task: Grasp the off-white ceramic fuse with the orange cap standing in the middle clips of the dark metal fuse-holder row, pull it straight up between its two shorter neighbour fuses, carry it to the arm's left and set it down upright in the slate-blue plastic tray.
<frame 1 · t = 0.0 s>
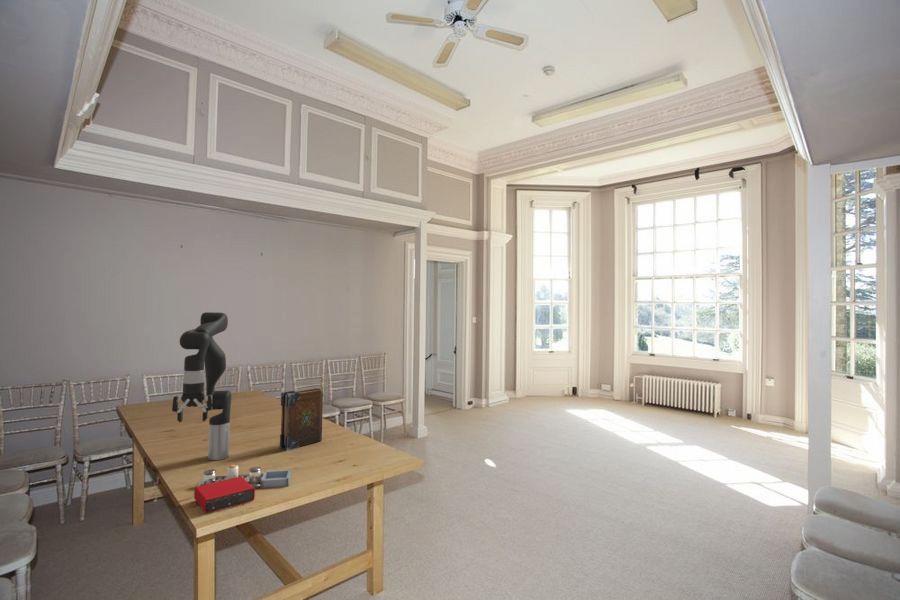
hand: (192, 421, 181), 29 cm above the table, fingers open, 8 cm apart
fuse: (232, 483, 193), resting in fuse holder
tray: (276, 481, 195), on the table
audio interface: (224, 500, 176), on the table, touching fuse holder
decorative book: (302, 444, 248), on the table
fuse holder: (232, 483, 193), on the table
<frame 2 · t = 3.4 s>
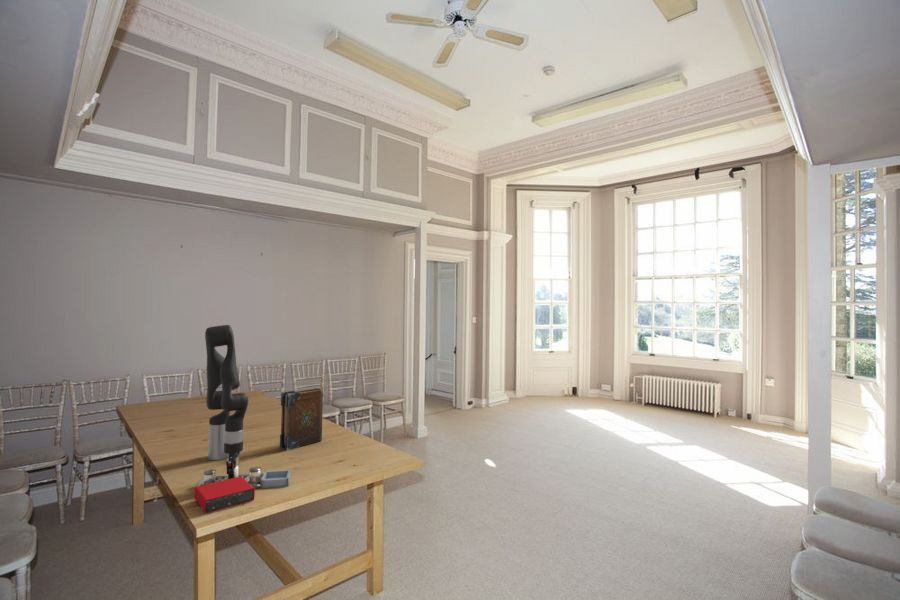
hand: (232, 480, 193), 1 cm above the table, fingers closed on fuse, 4 cm apart
fuse: (232, 483, 193), resting in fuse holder, touching gripper
everything else where it was.
when the fingers open (4 cm above the table, at t = 10.0 s): fuse drops 2 cm, resting on tray.
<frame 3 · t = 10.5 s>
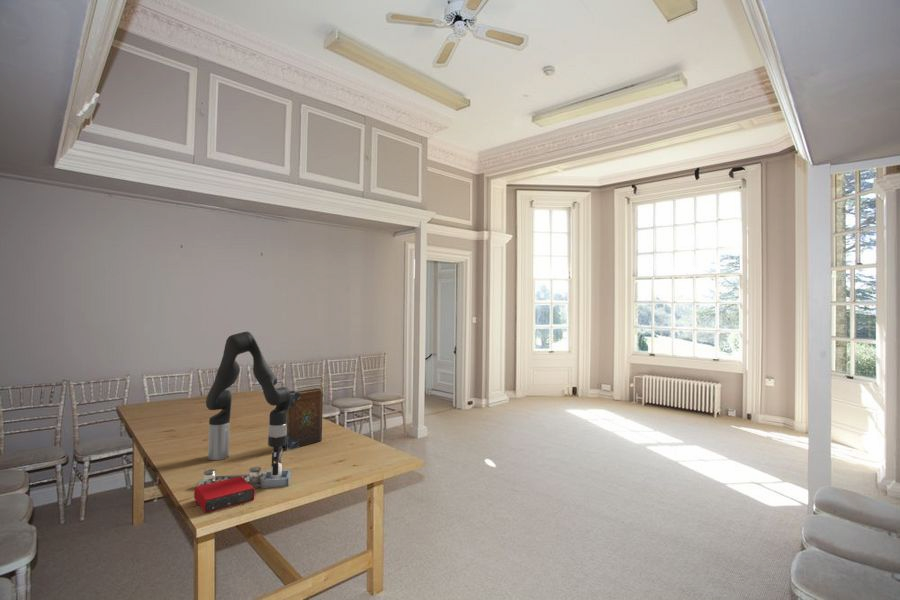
hand: (276, 471, 195), 5 cm above the table, fingers open, 8 cm apart
fuse: (276, 480, 195), point 1 cm above the table, touching tray
everything else where it was.
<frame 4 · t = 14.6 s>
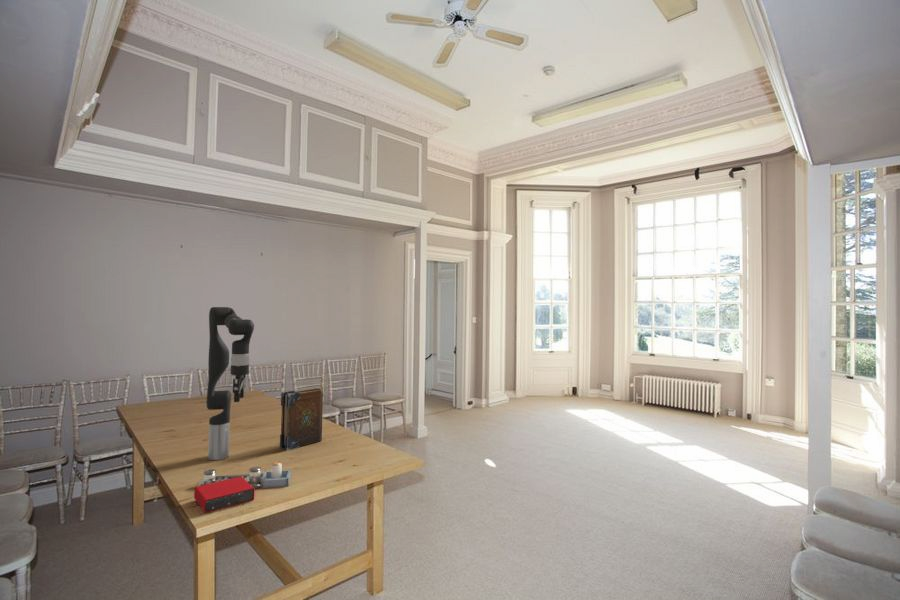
hand: (238, 399, 201), 34 cm above the table, fingers open, 8 cm apart
nothing on the table moved.
at the end: fuse inside the target area on the tray (0.1 cm from its centre), point 0.6 cm above the tray's base; fuse tilted 0°; the gripper is holding nothing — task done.
